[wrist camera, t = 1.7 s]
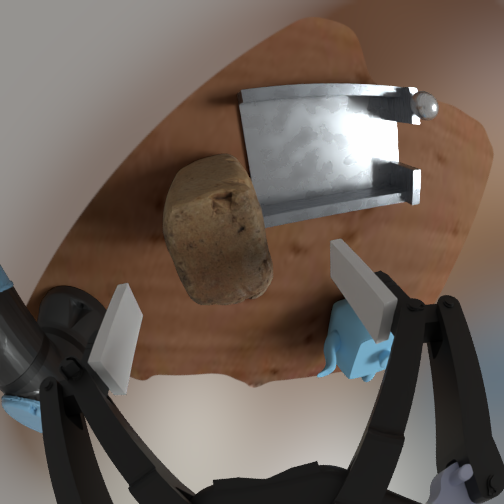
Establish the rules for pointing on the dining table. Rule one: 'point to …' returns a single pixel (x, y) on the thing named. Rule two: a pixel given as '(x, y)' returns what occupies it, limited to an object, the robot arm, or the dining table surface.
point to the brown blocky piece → (217, 232)
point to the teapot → (353, 345)
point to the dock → (329, 147)
